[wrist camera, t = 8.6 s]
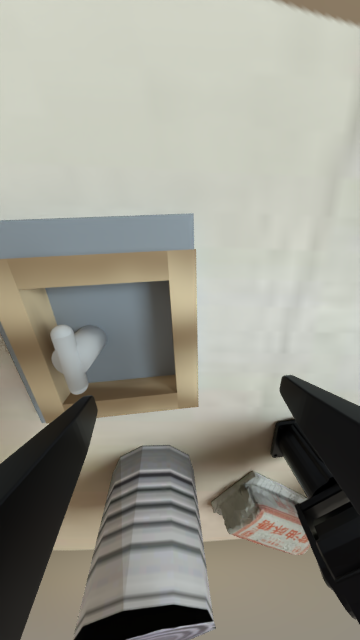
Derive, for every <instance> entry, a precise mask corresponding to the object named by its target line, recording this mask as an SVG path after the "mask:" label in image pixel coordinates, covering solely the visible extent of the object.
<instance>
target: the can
mask: <svg viewBox="0 0 360 640" xmlns="http://www.w3.org/2000/svg"><path fill="white" fill-rule="evenodd" d="M215 628H216V627H215V624H214V620H213V614H212V605H211V598H210V590H209V583H208V576H207V569H206V561H205V553H204V546H203V538H202V531H201V523H200V516H199V509H198V501H197V494H196V486H195V479H194V471H193V467H192V464H191V461H190V458H189V455H188V454H186V453H184V452H182V451H180V450H178V449H176V448H174V447H172V446H170V445H153V446H141V447H139V448H137V449H135V450H133V451H131V452H129V453H127V454H125V455H123V456H121V457H120V459H119V461H118V463H117V466H116V468H115V470H114V472H113V475H112V479H111V483H110V487H109V492H108V496H107V500H106V504H105V508H104V512H103V517H102V521H101V525H100V529H99V533H98V537H97V541H96V546H95V550H94V554H93V558H92V562H91V567H90V570H89V575H88V579H87V583H86V587H85V592H84V596H83V600H82V604H81V608H80V612H79V616H78V621H77V624H76V629H75V633H74V637H73V640H190V639H192V638H195V637H197V636H199V635H202V634H204V633H206V632H209V631H211V630H214V629H215Z"/></svg>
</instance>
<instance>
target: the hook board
mask: <svg viewBox="0 0 360 640" xmlns="http://www.w3.org/2000/svg"><path fill="white" fill-rule="evenodd" d="M190 249H194V218H193V214H168V215H140V216H112V217H85V218H57V219H29V220H1V221H0V259H11V258H31V257H51V256H71V255H91V254H110V253H130V252H150V251H170V250H190ZM45 289H46V292H47V295H48V298H49V302H50V305H51V308H52V311H53V314H54V317H55V320H56V323H57V326H56V327H54V328H53V329H52V330H51V333H50V336H51V340H52V342H53V345H54V348H55V351H54V352H53V354H52V363H53V365H54V367H55V368H56V369H57V370H58V371H59V372H61V373H62V374H64V377H65V380H66V382H67V385H68V388H69V390H70V392H71V393H72V394H75V395H78V394H82V393H83V392H85V391H86V389H87V388H88V383H94V382H104V381H115V380H125V379H136V378H146V377H156V376H167V375H175V361H174V347H173V333H172V319H171V305H170V291H169V280H166V281H149V282H133V283H117V284H100V285H84V286H68V287H51V288H45ZM0 333H1V335H2V338H3V340H4V342H5V344H6V346H7V348H8V351H9V353H10V355H11V357H12V359H13V361H14V364H15V366H16V368H17V370H18V372H19V374H20V377H21V379H22V381H23V383H24V385H25V387H26V390H27V392H28V394H29V396H30V398H31V400H32V403H33V405H34V407H35V409H36V411H37V413H38V416H39V418H40V420H41V422H42V423H46V421H45V419H44V417H43V415H42V413H41V410H40V408H39V406H38V404H37V402H36V399H35V397H34V395H33V393H32V390H31V388H30V386H29V384H28V382H27V379H26V377H25V375H24V373H23V370H22V368H21V366H20V364H19V362H18V359H17V357H16V355H15V353H14V350H13V348H12V346H11V344H10V342H9V339H8V337H7V335H6V333H5V330H4V328H3V326H2V324H1V322H0Z"/></svg>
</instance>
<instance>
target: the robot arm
mask: <svg viewBox="0 0 360 640" xmlns="http://www.w3.org/2000/svg"><path fill="white" fill-rule="evenodd" d="M280 393H281V395H282V397H283V399H284V401H285V403H286V404H287V406H288V408H289V410H290V411H291V413H292V415H293V417H294V419H295V420H293V421H284V422H279V423H277V425H276V429H275V434H274V438H273V443H272V448H271V455H272V457H274V458H276V457H284V458H285V460H286V462H287V463H288V465H289V467H290V468H291V470H292V472H293V473H294V475H295V477H296V478H297V480H298V482H299V483H300V485H301V487H302V489H303V490H304V492H305V494H306V495H307V497H308V499H307V500H305V501H303V502H302V503H297V504H295V505H294V506H295V508H296V511H297V514H298V518H299V520H300V522H301V525H302V527H303V529H304V532H305V534H306V536H307V539H308V541H309V543H310V546H311V548H312V550H313V553H314V555H315V557H316V559H317V562H318V565H319V568H320V571H321V574H322V576H323V579H324V581H325V583H326V584H327V586H328V587H329V588H331V589H332V590H333V591H334V592H335V594H336V595H337V597H338V598H339V600H340V602H341V603H342V605H343V606H344V607H345V609H346V610H347V612H348V613H349V614H350V615H351V616H352V618H354V619H357V620H358V622H359V624H360V406H358V405H356V404H354V403H352V402H349V401H347V400H345V399H343V398H341V397H339V396H336V395H334V394H332V393H330V392H328V391H325V390H323V389H321V388H319V387H317V386H315V385H312V384H310V383H308V382H306V381H304V380H302V379H299V378H297V377H295V376H293V375H286V376H283V377H282V379H281V384H280ZM97 413H98V409H97V405H96V402H95V398H94V396H92V395H89V396H83V397H82V398H80V399H79V400H78V401H77V402H75V403H74V404H73V405H72V406H71V407H69V408H68V409H67V410H66V411H64V412H63V413H62V414H61V415H60V416H58V417H57V418H56V419H55V420H53V421H52V422H51V423H50V424H49V425H47V426H46V427H45V428H44V429H42V430H41V431H40V432H39V433H38V434H36V435H35V436H34V437H33V438H31V439H30V440H29V441H28V442H27V443H25V444H24V445H23V446H22V447H20V448H19V449H18V450H17V451H16V452H14V453H13V454H12V455H11V456H9V457H8V458H7V459H6V460H5V461H3V462H2V463H1V464H0V640H20V639H21V636H22V633H23V630H24V628H25V625H26V622H27V619H28V617H29V613H30V611H31V608H32V605H33V603H34V600H35V597H36V594H37V591H38V589H39V586H40V583H41V580H42V578H43V575H44V572H45V569H46V566H47V563H48V561H49V558H50V555H51V552H52V550H53V547H54V544H55V541H56V539H57V536H58V533H59V530H60V527H61V525H62V522H63V519H64V516H65V513H66V511H67V508H68V505H69V502H70V499H71V497H72V494H73V491H74V488H75V486H76V483H77V480H78V477H79V474H80V472H81V469H82V466H83V463H84V460H85V458H86V455H87V452H88V448H89V445H90V441H91V437H92V433H93V429H94V425H95V421H96V417H97Z"/></svg>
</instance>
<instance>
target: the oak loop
mask: <svg viewBox="0 0 360 640" xmlns="http://www.w3.org/2000/svg"><path fill="white" fill-rule="evenodd" d="M166 280H169V291H170V305H171V319H172V333H173V347H174V361H175V375H167V376H156V377H146V378H136V379H125V380H115V381H104V382H94V383H88V388H87V389H86V391H85V392H83V393H82V394H78V395H75V394H72V393H71V392H70V390H69V388H68V385H67V382H66V380H65V377H64V374H62V373H61V372H59V371H58V370H57V369H56V368H55V367H54V365H53V363H52V354H53V352H54V351H55V348H54V345H53V342H52V340H51V336H50V333H51V330H52V329H53V328H54V327H56V326H57V323H56V320H55V317H54V314H53V311H52V308H51V305H50V302H49V298H48V295H47V292H46V289H45V288H51V287H68V286H84V285H100V284H117V283H133V282H149V281H166ZM0 322H1V324H2V326H3V328H4V330H5V333H6V335H7V337H8V339H9V342H10V344H11V346H12V348H13V350H14V353H15V355H16V357H17V359H18V362H19V364H20V366H21V368H22V370H23V373H24V375H25V377H26V379H27V382H28V384H29V386H30V388H31V390H32V393H33V395H34V397H35V399H36V402H37V404H38V406H39V408H40V410H41V413H42V415H43V417H44V419H45V421H46V423H51V422H52V421H53V420H55V419H56V418H57V417H58V416H60V415H61V414H62V413H63V412H64V411H66V410H67V409H68V408H69V407H71V406H72V405H73V404H74V403H75V402H77V401H78V400H79V399H80V398H82V397H83V396H89V395H92V396H94V398H95V402H96V405H97V409H98V413H97V417H96V418H99V417H108V416H117V415H127V414H136V413H145V412H154V411H163V410H172V409H181V408H191V407H198V352H197V286H196V249H190V250H170V251H150V252H130V253H110V254H91V255H71V256H51V257H31V258H11V259H0Z"/></svg>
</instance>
